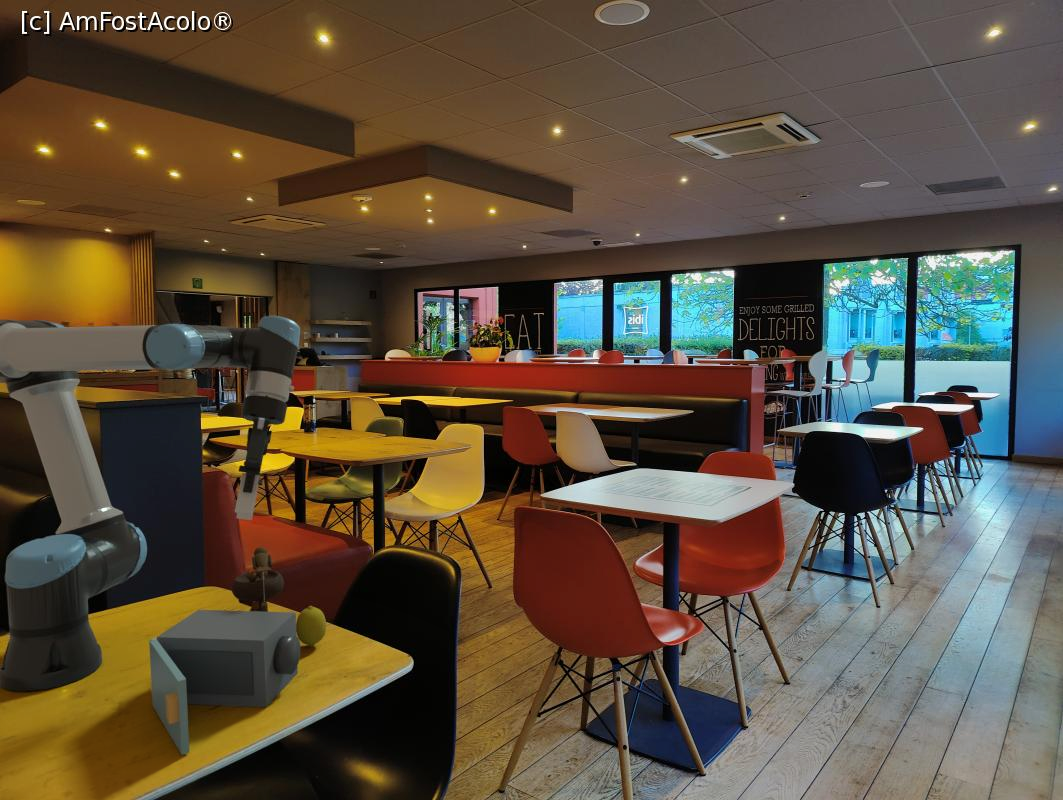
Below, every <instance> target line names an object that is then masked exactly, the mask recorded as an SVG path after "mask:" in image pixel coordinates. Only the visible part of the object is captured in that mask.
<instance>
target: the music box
mask: <svg viewBox="0 0 1063 800" xmlns="http://www.w3.org/2000/svg"><path fill="white" fill-rule="evenodd" d="M252 553H253V556H252V557H251V565H252V569H250V570H249V572H244V573H241V574H239V575H237V576H236V578H234V580H233V581H232V584H231V593H232V595H233V596H234V597H235V598H236V599H237V600H238V601H237V602H238V603H239V604H242V605H245V606H246V607H247V606H248V607H250V609H249V611H262V612H269V609H268V607H269V606H268V602H267V601H268V600H269V599H272V598H275V597H277V596H278V595H279V594H280V593H281V592H282V590H283V589H284V585H285V582H284V581H285V580H284V578H283V576H282V574H281V573H280V572H279V571H276V570H272V567H273V562H272V557H271V554H268V550H267V549H266V548H265V547H263V546H258V547H256V548H255V550H254V551H253V552H252ZM256 569H257V570H256Z"/></svg>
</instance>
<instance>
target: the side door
mask: <svg viewBox="0 0 1063 800" xmlns="http://www.w3.org/2000/svg"><path fill="white" fill-rule="evenodd" d="M148 640H149V645H148V646H149V663H150V664H149V665H150V686H151V703H152V704H151V705H152V707H153V708H154V710H155V712H156V714H157V715H158V717H159V719H160V720H161V722H162V723H163V726H164V727H165V729H166V731H167V733H168V735H169V736H170V738H171V740H172V741H173V742H174V744H175V745H176V746H175V747H176V748H177V749H178V751H179V752H180V754H181V755H186V754H188V753H190V739H189V738H190V737H189V718H188V717H189V716H188V715H189V714H188V704H187V689H186V678H185V677H184V676H183V674H182V673H181V672H180V670H179V669H178V668H177V666H176V665H175V663H174V662H173V661H172V659H171V658H170V657H169V655H168V654H167V653H166V651H165V650H164V649H163V647H162V646H161V645H160V643H159V642H158V641H157V637H156V638H155V637H153V638H150V639H148Z"/></svg>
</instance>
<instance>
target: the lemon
mask: <svg viewBox="0 0 1063 800" xmlns="http://www.w3.org/2000/svg"><path fill="white" fill-rule="evenodd" d="M326 630H327V620H326V618H325V614H324V613H323V611H322V610H321V609H320V608H317V607H315V606H313V605H309V606H308V607H306V608H304V609H303V610H301V612H300V613H299V614H298V615H297V618H296V636H297V637H298V639H299V641H300V643H302V644H305V645H308V646H309V647H310V648H312V646H313V647H314V646H315V645H316V644H318V643H319V642H321V641H322V640H323V638H324V637H325V635H326V632H327V631H326Z"/></svg>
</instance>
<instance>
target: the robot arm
mask: <svg viewBox="0 0 1063 800" xmlns="http://www.w3.org/2000/svg"><path fill="white" fill-rule="evenodd" d="M300 335H301V328H300V326H299V325H298V324H297V322H296V321H293V319H290V318H287V317H284V316H278V315H268V316H263V317H261V318H260V321H259V323H258V325H257V327H251V328H249V327H248V328H244V327H234V326H233V327H232V326H220V325H211V324H210V325H208V324H207V325H194V324H192V325H191V324H184V323H167V324H161V325H158V324H157V325H150V324H149V325H148V324H146V325H116V326H115V325H112V326H111V325H110V326H108V325H107V326H70V327H69V326H64V325H63V324H60V323H57V322H51V321H47V320H42V319H40V320H39V319H33V320H26V319H25V320H21V319H1V318H0V384H5V386H6V389H7V391H8V395H9V397H10V398H12V399H14V400H16V401H18V402H20V403H21V404H22V406H23V409H24V412H25V415H26V418H27V421H28V424H29V427H30V431H31V433H32V436H33V439H34V442H35V445H36V448H37V451H38V454H39V456H40V460H41V463H42V466H43V468H44V472H45V476H46V478H47V481H48V484H49V487H50V489H51V493H52V496H53V499H54V502H55V505H56V507H57V511H58V514H59V517H60V519H61V520H60V521H61V523H60V525H59V527H58V528H57V530H56V531H55V534H54V535H48V536H45V537H43V538H35V539H34V540H33V539H32V540H30V541H27V542H24V543H23V544H20V545H19V546H17V547H15V548H14V549H13V550H11V551H10V553H9V554H8V555H7V557H6V560H5V561H6V562H5V573H4V582H5V586H6V588H5V591H6V603H7V614H8V615H7V616H8V626H9V627H8V628H9V629H8V630H9V639H8V642H7V645H6V648H5V652H4V656H3V659H2V664H1V666H0V687H1V688H3V689H4V690H8V691H11V692H32V691H34V692H35V691H41V690H49V689H51V688H56V687H60V686H64V685H67V684H70V683H73V682H76V681H78V680H81V679H83V678H85V677H87V676H89V675H91V674H92V673H94V672H95V671H97V670H98V669H99V668H100V667H101V666H102V664H103V651H102V648H101V646H100V644H99V643H98V640H97V638H96V636H95V633H94V631H93V629H92V626H91V625H90V621H89V620H90V619H89V618H90V617H89V603H88V602H89V601H88V600H89V599H90V598H92V597H94V596H97V595H99V594H101V593H102V592H105V591H107V590H109V589H110V588H113V587H115V586H119V585H122V584H123V583H125V582H126V581H127V580H129V578H132V577H133V576H135V575H136V574H137V573H138V572H139V571H140V570H141V568H142V567H143V565H144V563H145V562H146V558H147V554H148V553H147V552H148V546H147V540H146V537H145V535H144V533H143V532H142V530H141V529H140V528H139V527H138V526H137V527H136V526H135V524H134V523H132V522H128V521H127V520H126V517H125V514H124V511H122V510H120V509H118V508H115V507H114V506H113V505H112V503H111V500H110V497H109V494H108V491H107V488H106V486H105V482H104V479H103V476H102V474H101V471H100V468H99V467H100V466H99V464H98V461H97V458H96V455H95V452H94V448H93V446H92V442H91V440H90V437H89V434H88V433H89V432H88V430H87V428H86V424H85V421H84V418H83V414H82V412H81V409H80V406H79V403H78V400H77V397H76V394H75V390H76V388H77V387H78V385H80V381H81V380H80V378H79V375H78V373H79V372H80V371H86V372H87V371H88V372H89V371H126V370H127V371H128V370H129V371H133V370H169V371H170V370H171V371H183V370H184V371H185V370H190V369H191V370H192V369H207V368H208V369H210V368H212V369H214V368H243V369H249V372H248V376H247V382H246V386H245V390H244V394H245V395H246V397H244V398H243V403H242V407H241V412H240V416H241V418H243V419H245V420H247V421H249V422H253V423H252V427H248V430H247V436H246V437H247V438H246V439H247V440H246V456H245V459H244V462H243V465H242V464H241V465H239V467H238V472H239V473H242V474H241V478H240V483H239V488H238V494H237V499H236V503H235V508H234V513H236V517H235V519H238V520H239V519H240V520H246V521H247V520H249V521H253V516H254V510H255V506H256V499H257V496H258V495H257V494H258V489H259V486H263V481H264V480H261V478H260V475H261V469H262V465H263V464H262V463H263V460H264V456H266V455H267V452H268V448H269V444H270V443H271V440H272V439H271V438H272V433H273V430H269V429H268V428H269V425H273V426H274V425H275V426H276V425H277V426H279V425H282V424H284V422H285V420H286V415H287V410H288V405H287V402H288V401H289V396H290V392H293V391H294V389H295V386H293V385H292V381H293V375H294V369H295V365H296V360H297V356H298V350H299V349H300V346H299V345H300Z"/></svg>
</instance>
